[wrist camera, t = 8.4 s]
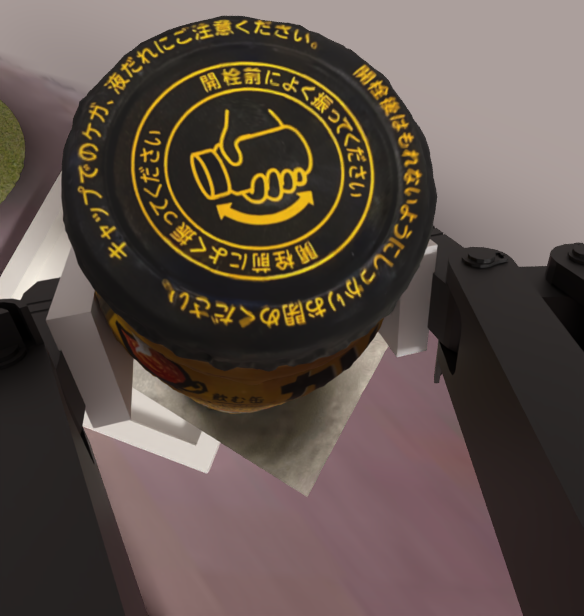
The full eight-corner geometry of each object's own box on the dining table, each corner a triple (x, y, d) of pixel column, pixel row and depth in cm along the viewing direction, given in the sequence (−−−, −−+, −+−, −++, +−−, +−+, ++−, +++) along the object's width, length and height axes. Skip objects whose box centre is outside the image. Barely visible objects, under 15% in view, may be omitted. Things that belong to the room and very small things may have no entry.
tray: (-34, 377, 28) (-56, 373, 26) (73, 187, 32) (61, 171, 30) (209, 470, 29) (207, 473, 27) (287, 271, 32) (291, 260, 30)
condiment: (217, 215, 19) (190, -119, 7) (397, 326, 18) (674, 170, 7) (105, 370, 17) (-183, 262, 5) (305, 495, 17) (473, 673, 5)
